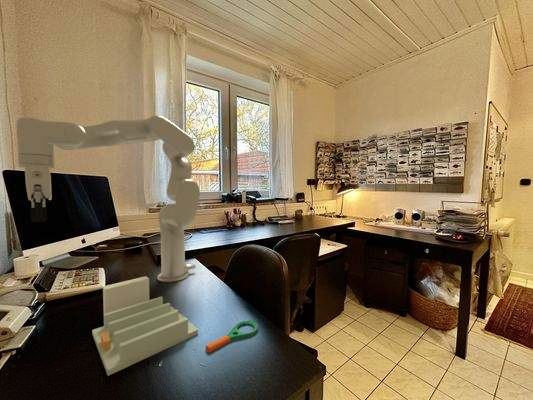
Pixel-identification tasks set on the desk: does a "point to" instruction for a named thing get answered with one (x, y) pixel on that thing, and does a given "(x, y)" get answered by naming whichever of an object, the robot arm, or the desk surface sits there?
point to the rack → (139, 333)
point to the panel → (125, 294)
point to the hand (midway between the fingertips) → (39, 220)
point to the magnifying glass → (233, 335)
